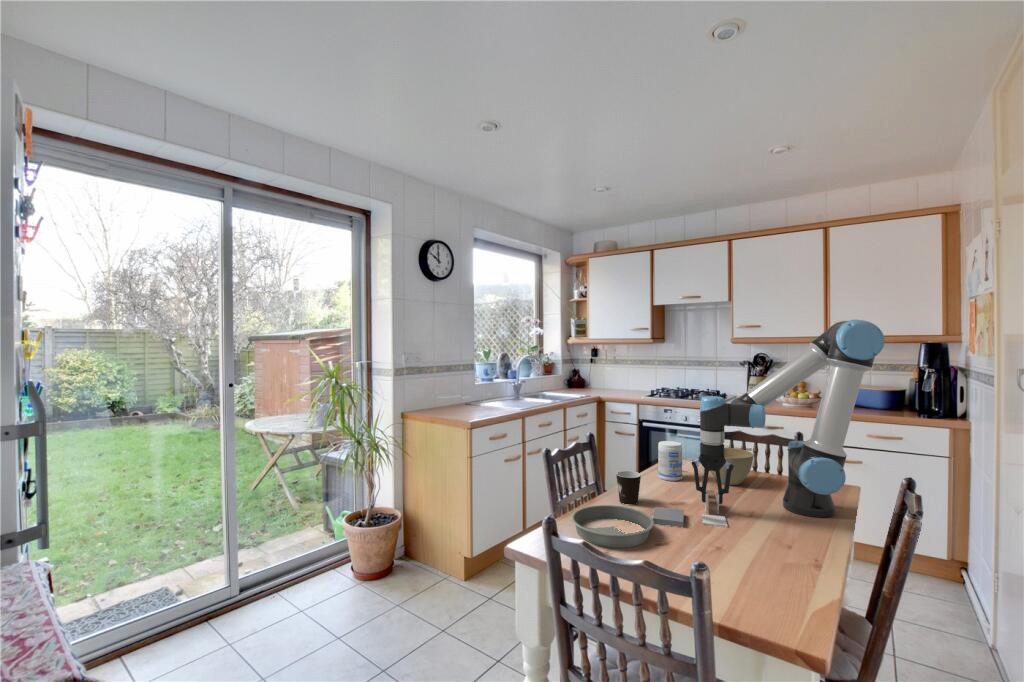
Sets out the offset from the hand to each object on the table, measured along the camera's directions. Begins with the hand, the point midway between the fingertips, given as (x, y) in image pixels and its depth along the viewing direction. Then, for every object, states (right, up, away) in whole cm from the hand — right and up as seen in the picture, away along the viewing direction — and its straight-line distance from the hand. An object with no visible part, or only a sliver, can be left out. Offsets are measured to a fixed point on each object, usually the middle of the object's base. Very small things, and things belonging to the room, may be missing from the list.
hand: (711, 512), depth 161 cm
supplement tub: (-1, 0, +39) cm, 39 cm away
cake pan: (-37, -1, -15) cm, 40 cm away
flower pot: (+21, 0, +33) cm, 39 cm away
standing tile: (-14, +1, 0) cm, 14 cm away
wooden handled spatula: (-1, 0, -2) cm, 2 cm away
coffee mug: (-25, 0, +13) cm, 28 cm away
